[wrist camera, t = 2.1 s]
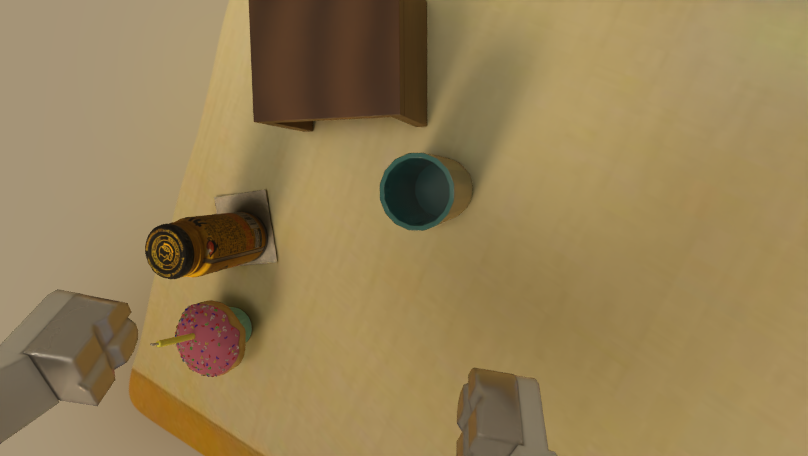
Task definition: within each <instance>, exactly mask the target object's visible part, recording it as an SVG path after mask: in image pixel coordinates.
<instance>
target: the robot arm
mask: <svg viewBox="0 0 808 456" xmlns="http://www.w3.org/2000/svg"><path fill="white" fill-rule="evenodd" d="M130 313H131V310H130V308H129V305H128V303H125V302H119V301H113V300H109V299H104V298H98V297H93V296H88V295H83V294H80V293H74V292H69V291H63V290H56V291H54V292H52V293H50V294H49V295H47V296H46V297H45V298H44V300H42V302H41V303H40V304H39V305H38V306H37V307H36V308H35V309H34V310H33V311H32V312H31V313H30V314H29V315H28V316H27V317H26V318H25V320H24V321H23V322H22V323H21V324H20V325H19V326H18V327H17V328H16V329H15V330H14V331H13V332H12V333H11V334H10V335H9V336H8V337H7V338H6V339H5V340H4V342H2V344H1V345H0V444H1V443H2V442H3V441H5V440H6V439H8V438H9V437H11V436H12V435H14V434H15V433H17V432H18V431H19V430H21V429H22V428H23V427H25V426H27V425H28V424H29V423H31V422H32V421H34V420H35V419H36V418H38V417H39V416H41V415H42V414H44V413H45V412H46V411H48V410H49V409H51V408H52V407H54V406H55V405H57V404H58V403H59V401H58V400H60V401H67V402H74V403H80V404H87V405H93V406H98V405H99V403H100V402H101V400H102V399H103V397H104V396H105V394H106V393H107V391H108V390H109V388H110V387H111V385H112V384H113V382H114V381H115V372H114V370H115V369H116V368H118V367H120V366H122V365H123V364H125V363H126V362H127V361H128V360H129V358H130V356H131V355H132V353H133V352H134V349H135V346H136V343H137V340H138V329H137V326H136V324H135V323H134V322H133V321H132V320H130V319H129V318H128V316H129V315H130ZM457 424H458V426H459V428H460V429H461V431H462V433H461V435H460V437H459V438H458V440H457V456H557V454H556V453H555V452H553V451H549V450H548V444H547V437H546V430H545V423H544V416H543V409H542V402H541V395H540V388H539V384H538V382H537V380H536V379H534V378H529V377H523V376H517V375H514V374H509V373H503V372H497V371H491V370H485V369H479V368H472V369H471V371H470V373H469V375H468V383H467V384H465V385H463V388H462V390H461V392H460V397H459V401H458V409H457Z"/></svg>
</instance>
